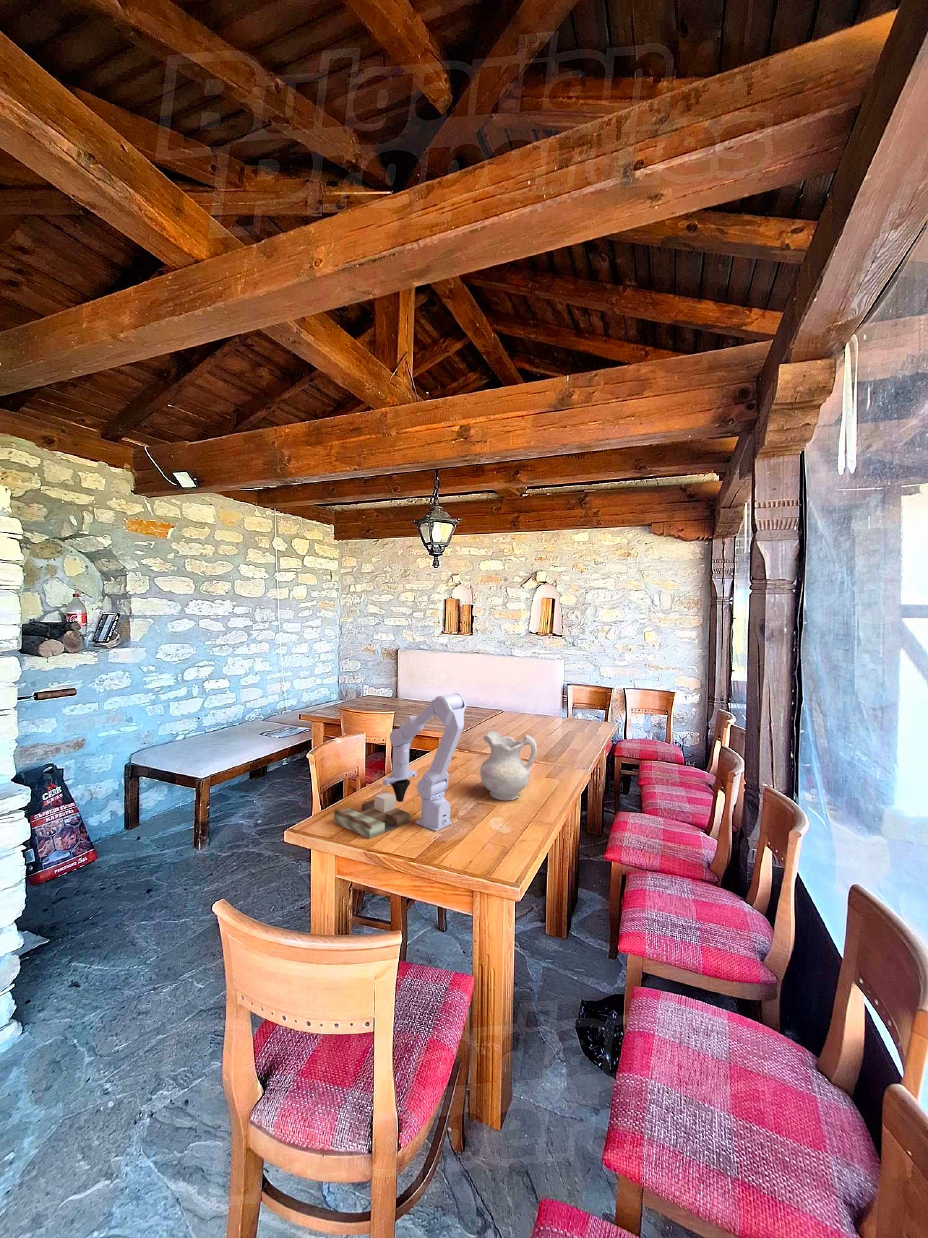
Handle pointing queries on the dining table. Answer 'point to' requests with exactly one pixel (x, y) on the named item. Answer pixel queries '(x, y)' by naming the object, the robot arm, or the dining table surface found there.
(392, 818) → the box
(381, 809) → the cream block
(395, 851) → the dining table surface
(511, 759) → the ceramic pitcher
